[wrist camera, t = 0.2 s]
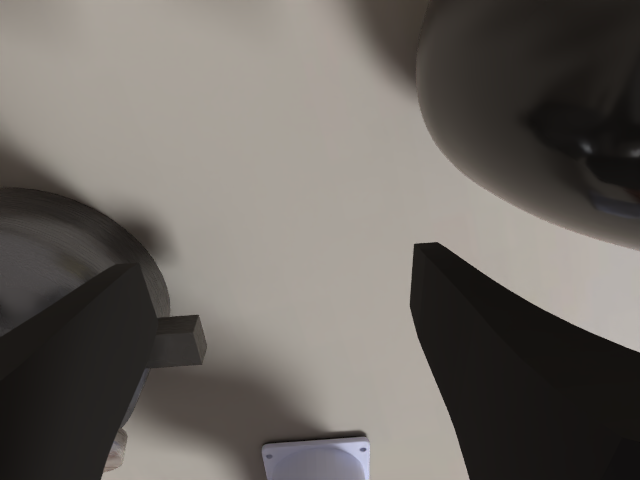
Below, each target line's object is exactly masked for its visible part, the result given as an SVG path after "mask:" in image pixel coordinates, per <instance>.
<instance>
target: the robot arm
mask: <svg viewBox="0 0 640 480" xmlns="http://www.w3.org/2000/svg"><path fill="white" fill-rule="evenodd" d="M410 309H411V313H412V317H413V321H414V325H415V328H416V332H417V336H418V339H419V341H420V344H421V346H422V349H423V351H424V354H425V356H426V359H427V361H428V364H429V366H430V368H431V371H432V373H433V376H434V378H435V381H436V383H437V385H438V388H439V390H440V393H441V395H442V397H443V400H444V402H445V405H446V407H447V410H448V412H449V415H450V417H451V420H452V423H453V426H454V428H455V431H456V435H457V438H458V441H459V445H460V448H461V451H462V455H463V458H464V461H465V465H466V468H467V471H468V475H469V479H470V480H640V352H637V351H634V350H631V349H629V348H626V347H624V346H622V345H619V344H617V343H614V342H612V341H609V340H607V339H605V338H602V337H600V336H597V335H595V334H593V333H590V332H588V331H586V330H584V329H582V328H579V327H577V326H575V325H573V324H571V323H569V322H567V321H565V320H563V319H561V318H559V317H557V316H555V315H553V314H551V313H549V312H547V311H545V310H543V309H541V308H539V307H537V306H535V305H534V304H532V303H530V302H528V301H527V300H525V299H523V298H522V297H520V296H518V295H517V294H515V293H513V292H511V291H510V290H508V289H506V288H505V287H503V286H502V285H500V284H499V283H497V282H495V281H494V280H492V279H491V278H489V277H488V276H486V275H485V274H483V273H482V272H480V271H479V270H477V269H476V268H474V267H473V266H472V265H470V264H469V263H467V262H466V261H464V260H463V259H462V258H460V257H459V256H457V255H456V254H454V253H453V252H452V251H450V250H449V249H447V248H446V247H444V246H443V245H441V244H439V243H438V242H434V243H419V244H414V253H413V267H412V280H411V294H410ZM158 324H159V322H158V319H157V316H156V313H155V310H154V307H153V304H152V301H151V298H150V295H149V292H148V289H147V286H146V283H145V279H144V276H143V273H142V270H141V267H140V264H139V263H126V264H115V265H113V266H111V267H109V268H108V269H106V270H104V271H102V272H101V273H99V274H98V275H96V276H95V277H93V278H91V279H90V280H88V281H87V282H85V283H84V284H82V285H81V286H79V287H78V288H76V289H75V290H73V291H72V292H70V293H69V294H67V295H66V296H64V297H63V298H61V299H60V300H58V301H57V302H55V303H54V304H52V305H51V306H49V307H48V308H46V309H45V310H43V311H41V312H40V313H38V314H37V315H35V316H33V317H32V318H30V319H29V320H27V321H25V322H24V323H22V324H20V325H19V326H17V327H16V328H14V329H12V330H11V331H9V332H8V333H6V334H4V335H3V336H1V337H0V480H101V477H102V474H103V471H104V468H105V464H106V461H107V458H108V455H109V453H110V450H111V447H112V445H113V442H114V440H115V437H116V435H117V432H118V430H119V428H120V425H121V423H122V421H123V419H124V416H125V414H126V412H127V409H128V407H129V405H130V402H131V400H132V398H133V396H134V393H135V391H136V389H137V386H138V384H139V382H140V379H141V377H142V375H143V372H144V370H145V367H146V365H147V363H148V360H149V358H150V354H151V351H152V347H153V344H154V340H155V336H156V332H157V328H158ZM262 457H263V461H264V466H265V471H266V476H267V480H369V460H370V443H369V439H368V438H366V437H352V438H339V439H325V440H312V441H299V442H285V443H272V444H265V445H263V447H262Z"/></svg>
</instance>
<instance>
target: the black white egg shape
mask: <svg viewBox="0 0 640 480" xmlns="http://www.w3.org/2000/svg"><path fill="white" fill-rule="evenodd" d="M416 88H417V96H418V101H419V106H420V110H421V113H422V117H423V120H424V122H425V125H426V127H427V129H428V131H429V134H430V135H431V137H432V139H433V141H434V142H435V144H436V145H437V147H438V148H439V149H440V151H441V152H442V153H443V154H444V156H445V157H446V158H447V159H448V160H449V161H450V162H451V163H452V164H453V165H454V166H455V167H456V168H457V169H458V170H459V171H460V172H462V173H463V174H464V175H465V176H466V177H468V178H469V179H470V180H472V181H473V182H475V183H476V184H477V185H479V186H481V187H482V188H484V189H485V190H487V191H489V192H490V193H492V194H494V195H495V196H497V197H499V198H501V199H502V200H504V201H506V202H508V203H510V204H511V205H513V206H515V207H517V208H519V209H521V210H523V211H525V212H527V213H529V214H531V215H533V216H536V217H538V218H540V219H542V220H545V221H547V222H549V223H552V224H554V225H557V226H559V227H562V228H565V229H567V230H570V231H573V232H576V233H579V234H582V235H585V236H588V237H591V238H594V239H597V240H600V241H604V242H607V243H611V244H614V245H618V246H622V247H626V248H629V249H633V250H637V251H640V0H430V2H429V5H428V8H427V11H426V14H425V17H424V20H423V24H422V27H421V32H420V36H419V41H418V48H417V56H416Z"/></svg>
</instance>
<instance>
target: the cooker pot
mask: <svg viewBox="0 0 640 480" xmlns="http://www.w3.org/2000/svg"><path fill="white" fill-rule="evenodd" d="M126 263H139V264H140V267H141V270H142V273H143V276H144V279H145V283H146V286H147V289H148V292H149V295H150V298H151V301H152V304H153V307H154V310H155V313H156V316H157V319H158V322H159V324H158V328H157V332H156V336H155V340H154V344H153V347H152V351H151V354H150V358H149V360H148V363H147V365H146V367H145V370H144V372H143V375H142V377H141V379H140V382H139V384H138V386H137V389H136V391H135V393H134V396H133V398H132V400H131V402H130V405H129V407H128V409H127V412H126V414H125V416H124V419H123V421H122V423H121V425H120V427H121V428H122V427H123V426H124V425H125V424H126V422H127V421H128V419H129V418H130V416H131V414H132V412H133V410H134V408H135V405H136V403H137V401H138V398H139V396H140V393H141V391H142V388H143V386H144V383H145V381H146V379H147V376H148V374H149V371H150V369H151V368H161V367H175V366H188V365H202V363H203V359H204V355H205V352H206V348H207V344H206V340H205V336H204V333H203V329H202V325H201V321H200V317H199V315H189V316H175V317H169V316H170V299H169V294H168V290H167V286H166V283H165V281H164V278H163V276H162V274H161V272H160V270H159V268H158V266H157V265H156V263H155V261H154V260H153V259H152V257H151V256H150V255H149V253H148V252H147V251H146V249H145V248H144V247H143V246H142V245H141V244H140V243H139V242H138V241H137V240H136V239H135V238H134V237H133V236H132V235H131V234H129V233H128V232H127V231H126V230H125V229H124V228H123V227H121V226H120V225H118V224H117V223H115V222H114V221H113V220H111V219H110V218H108V217H107V216H105V215H103V214H101V213H100V212H98V211H96V210H94V209H92V208H90V207H88V206H86V205H84V204H81V203H79V202H77V201H74V200H72V199H69V198H66V197H63V196H59V195H56V194H53V193H48V192H43V191H39V190H33V189H23V188H0V337H1V336H3V335H4V334H6V333H8V332H9V331H11V330H12V329H14V328H16V327H17V326H19V325H20V324H22V323H24V322H25V321H27V320H29V319H30V318H32V317H33V316H35V315H37V314H38V313H40V312H41V311H43V310H45V309H46V308H48V307H49V306H51V305H52V304H54V303H55V302H57V301H58V300H60V299H61V298H63V297H64V296H66V295H67V294H69V293H70V292H72V291H73V290H75V289H76V288H78V287H79V286H81V285H82V284H84V283H85V282H87V281H88V280H90V279H91V278H93V277H95V276H96V275H98V274H99V273H101V272H102V271H104V270H106V269H108V268H109V267H111V266H113V265H115V264H126Z"/></svg>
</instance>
